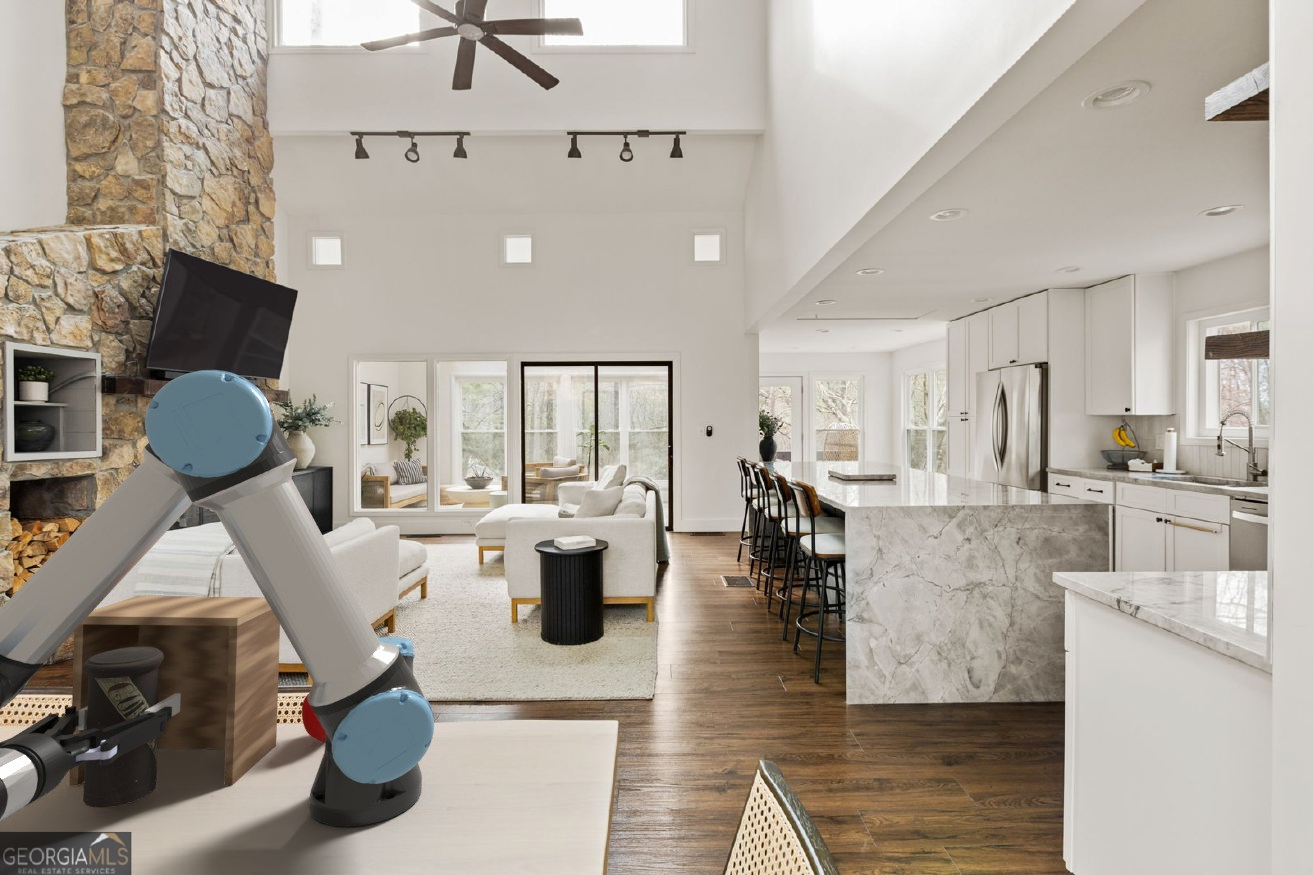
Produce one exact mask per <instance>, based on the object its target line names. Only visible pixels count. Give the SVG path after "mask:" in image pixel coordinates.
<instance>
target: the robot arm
mask: <svg viewBox="0 0 1313 875" xmlns="http://www.w3.org/2000/svg"><path fill="white" fill-rule="evenodd" d="M144 419H145V420H144V426H145V427H144V428H145V434H146V437H147V438H146V439H147V441H148V443H147V444H146V445H145V446H144V447H143V448H142V451H143V452H142V453H143V461H142V462H141V463H140V464H139V465H138V466H137V467H136V468H135V470H133V472H131V474H129V475H128V477H126V479H124V480H123V482H121V484H120V485H119V486H118V487H117V488H116V489H115V490H114V491H113V492H112V493H111V494H110V495H109V496H108V497H107V498H106V499H105V500H104V502H102V503H101V505H100V506H99V507H97V509H95V511H93V512H92V514H90V516H89V517H88V518H87V519H86V520H85V521H84V522H83V523H82V524H81V525H80V526H78V528H76V530H75V531H74V532H73V534H72V535H70V536H69V538H67V540H66V541H65V542H63V544H62V545H61V546H59V548H58V549H57V550H56V551H55V552H54V553H53V554H52V555H51V556H50V557H49V558H48V559H47V560H46V561H45V562H44V563H43V565H42V566H40V567H39V569H38V570H37V571H36V572H35V573H33V575H31V576H30V578H28V580H27V581H26V582H25V583H24V584H23V585H22V586H21V587H20V588H19V589H18V590H17V591H16V592H15V593H14V594H13V595H12V596H11V597H10V598H9V599H8V600H7V601H6V603H4V605H2V606H1V607H0V710H1V709H3V708H4V707H5V706H7V705H8V704H9V703H11V702H12V701H13V700H14V699H15V698H16V697H17V696H18V695H19V694H20V693H21V692H22V691H23V690H24V689H25V687H26V686H27V684H28V682H29V681H30V680H31V678H32V677H34V676H35V674H36V673H37V672H38V671H39V670H40V669H42V667H43V666H44V664H45V663H46V662H47V661H48V660H49V658H50V657H52V655H53V654H55V652H56V651H57V650H58V649H59V648H60V647H61V646H62V644H64V642H65V641H66V640H67V639H68V638H69V637H70V636H71V635H72V634H74V631H75V629H76V628H77V627H78V626H79V625H80V624H81V623H82V622H83V621H84V620H85V619H86V618H87V617H88V615H89V614H90V613H91V612H92V611H93V610H95V609H96V608H97V607H98V606H99V605H100V604H101V603H102V601H103V600H105V599H106V597H108V595H109V594H110V593H111V592H112V591H113V590H114V588H116V586H117V585H118V584H119V583H121V581H122V580H124V578H125V577H126V576H127V574H129V573H130V571H132V569H134V567H135V566H136V565H137V564H138V563H139V562H140V561H141V560H142V558H144V556H145V555H146V554H147V553H148V552H150V550H151V549H152V548H153V547H154V546H155V544H156V543H158V541H159V540H160V539H161V538H162V537H163V536H164V535H165V534H166V533H167V532H168V531H169V530H170V528H171V527H172V526H173V525H174V524H175V523H176V522H177V521H178V520H179V518H181V516H183V515H184V513H186V511H187V510H188V509H189V508H190V507H191V506H192V505H194V506H195V507H196V506H197V507H200V508H204V509H209V510H211V511H213V512H215V513H216V515H217V517H218V519H219V520H220V522H221V524H222V526H223V527H224V529H225V531H226V532H227V534H228V536H229V538H230V540H231V542H232V543H233V545H234V546H235V548H236V550H237V551H238V553H239V555H240V558H242V561H243V562H244V564H245V565H246V568H247V569H248V571H249V572H250V574H251V576H252V578H253V580H254V582H255V583H256V584H257V586H258V588H259V589H260V590H259V591H261V593H262V595H263V597H264V598H265V599H266V600H267V602H268V604H269V606H270V607H271V609H272V611H273V613H274V614H275V616H276V618H277V620H278V621H279V623H280V628H282V630H283V632H284V633H285V635H286V637H287V638H288V640H289V642H290V644H291V646H292V648H293V649H294V650H295V653H296V655H297V656H298V658H299V660H300V661H301V663H302V664H303V666H304V668H305V670H306V672H307V674H308V676H309V677H310V679H311V681H312V685H311V687H310V690H309V693H308V694H309V695H308V694H307V695H308V698H307V699H308V702H309V704H310V706H311V708H312V709H313V711H314V713H315V715H316V717H317V718H318V720H319V722H320V724H321V725H322V727H323V729H324V731H325V732H326V733H325V741H324V754H323V755H322V758H321V761H320V764H319V767H318V769H317V773H316V775H315V778H314V779H313V780H314V781H313V782H312V785H311V789H310V792H309V793H310V794H309V814H310V815H311V816H312V818H313V819H314V820H316V821H318V822H319V823H322V824H325V825H329V826H335V827H359V826H360V827H361V826H368V825H372V824H376V823H380V822H383V821H386V820H388V819H389V820H390V819H392V818H394V817H396V816H398V815H400V814H402V813H403V812H406V811H407V810H408V809H410V808H411V807H412V806H413V805H414V804H416V803H417V802H418V800H419V799H420V797H421V795H422V791H423V790H422V788H423V787H422V786H423V784H422V783H423V775H422V770H421V767H420V764H419V762H421V760H422V759H423V758H424V756H425V755H426V753H427V751H428V750H429V747H430V746H431V743H432V740H433V739H434V738H433V737H434V732H435V722H434V720H435V719H434V716H435V714H434V710H433V708H432V706H431V703H430V702H429V700H428V699H427V698H426V697H425V695H424V693H423V690H422V689H421V686H420V684H419V683H418V681H417V678H416V677H415V675H414V658H415V656H416V655H415V652H414V644H413V642H412V641H411V639H408V638H406V637H398V636H397V637H396V636H394V637H393V636H391V637H385V636H384V637H378V635H377V634H376V631H375V630H374V627H373V626H372V624H371V622H370V621H369V619H368V617H367V615H366V613H365V612H364V610H363V608H362V605H361V604H360V602H359V600H358V599H357V597H356V595H355V593H354V591H353V589H352V587H351V586H350V584H349V582H348V580H347V579H346V578H347V577H346V576H345V575H344V573H343V571H342V569H341V567H340V565H339V563H338V561H337V560H336V558H335V556H334V554H333V552H332V551H331V549H330V547H329V545H328V543H327V542H326V539H325V537H324V536H323V534H322V532H321V531H320V529H319V526H318V525H317V523H316V521H315V519H314V517H313V515H312V514H311V512H310V510H309V508H308V506H307V505H306V503H305V501H304V499H303V497H302V496H301V493H300V492H299V489H298V488H297V486H296V484H295V482H294V480H293V479H292V477H293V476H292V475H293V471H294V469H295V466H296V465H297V464H296V463H297V461H298V459H297V457H296V455H295V453H294V451H293V449H292V447H291V445H290V444H289V442H288V440H287V438H286V436H285V435H284V432H283V431H282V429H281V427H280V425H279V423H278V421H277V419H276V418H275V416H274V414H273V411H272V408H271V406H270V404H269V402H268V400H267V397H266V396H265V395H264V393H263V392H262V390H260V389H259V388H258V387H257V386H256V385H255V384H253V383H252V381H250V380H248V379H247V378H245V377H243V376H241V375H238V374H236V373H233V372H230V371H225V370H220V369H219V370H217V369H205V370H204V369H202V370H201V369H200V370H197V371H193V372H188V373H185V374H182V375H180V376H178V377H175V378H174V379H172V380H170V381H168V382H167V383H166V384H165V385H163V386H162V387H161V388H160V389H159V390H158V391H157V392H156V394H155V395H154V396H153V397H152V399H151V401H150V402H149V404H148V407H147V408H146V413H145V418H144ZM180 698H181V693H175V694H173V695H172V696H170V697H168V698H166V699H165V700H163V701H161V702H159V703H157V704H156V705H154V706H152V707H150V708H149V709H147V710H145V711H144V715H141V716H138V717H135V718H133V719H130V720H127V721H124V722H121V723H118V724H115V725H112V726H109V727H107V728H104V729H101V730H99V729H96V728H93V729H90V730H87V731H84V732H81V733H78V734H75V735H74V734H73V733H74V732H75V730H76V727H77V726H78V730H85V729H87V707H88V706H87V707H85V708H83V709H81V710H79V711H77V712H76V706H72V705H71V706H68V707H65V708H64V714H63V716H60V715H59V713H51V714H48V715H46V716H45V717H43V718H42V719H39V720H38V721H36V722H35V723H33V724H31V725H30V726H28V727H27V728H26V729H24V730H22V731H20V732H19V733H17V734H15V735H14V736H12V737H10V738H7V739H5V740H3V741H1V742H0V822H2V821H4V820H5V819H7V818H9V817H11V816H12V815H13V814H15V813H17V812H20V811H21V810H22V809H23V808H25V807H27V806H29V805H30V804H33V803H35V801H38V800H39V799H41V798H42V797H44V796H45V795H47V794H49V793H50V792H52V791H53V790H54V789H56V788H57V787H58V786H59V785H60V783H61V782H62V781H63V779H64V778H65V776H66V775H67V774H68V772H70V769H72V768H75V767H78V766H80V765H83V764H84V763H86V762H87V761H88V760H96V759H100V765H101V766H104V765H109V764H111V763H112V762H113V761H115V760H116V759H117V758H118V757H120V756H122V755H124V754H125V753H127V752H129V751H131V750H133V749H135V748H137V747H139V746H141V745H143V744H145V743H147V742H149V741H151V740H153V739H155V738H157V737H159V736H161V735H163V734H165V733H166V721H167V720H168V719H170V718H171V717H172V716H174V715H175V714H177V713H179V712H180ZM89 737H90V740H89ZM89 748H90V749H89Z"/></svg>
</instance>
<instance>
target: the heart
mask: <svg viewBox="0 0 1313 875" xmlns="http://www.w3.org/2000/svg"><path fill="white" fill-rule="evenodd" d="M308 695H309V693H308V694H307V695H306V696H305V697H304V699H303V702H302V704H301V705H302V706H301V718H302V724H303V727H304V730H305V732H306V733H307V734H308V735H309V736H310V737H311V738H313V739H314V740H317V741H320V742H325V733H326V732H325V731H324V729H323V727H322V725H321V724H320V722H319V720H318V718H317V717H316V715H315V713H314V711H313V709H312V708H311V706H310V704H309V702H308V699H307V698H308Z"/></svg>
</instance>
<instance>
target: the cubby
mask: <svg viewBox="0 0 1313 875" xmlns="http://www.w3.org/2000/svg"><path fill="white" fill-rule="evenodd" d="M280 632H281V625H280V623H279V621H278V620H277V618H276V616H275V614H274V613H273V611H272V609H271V607H270V606H269V604H268V602H267V600H266V599H265V597H264V596H263V597H261V596H260V597H256V596H253V597H251V596H249V597H247V596H245V597H244V596H182V595H181V596H176V595H175V596H174V595H173V596H172V595H170V596H169V595H168V596H167V595H165V596H164V595H136V596H133V597H130V598H127V599H123V600H121V601H118V602H114V603H111V604H108V605H105V606H102V607H100V608H99V607H98V608H97V609H96V608H95V609H94V610H93V611H92V612H91V613H90V614H89V615H88V617H87V618H86V619H85V620H84V621H83V622H82V623H81V624H80V625H79V626H78V627H77V628H76V629H75V631H74V632H73V634H74V638H73V665H72V691H71V692H72V697H71V706H76V712H77V711H79V710H81V709H83V708H85V707H87V706H88V675H87V674H86V673H85V672H84V669H83V666H84V663H85V662H86V661H87V660H88V659H90V658H91V657H92V656H94V655H97V654H100V653H103V652H107V651H111V650H116V649H121V648H128V647H153V648H157V649H158V650H160V651H161V652H162V653H163V655H164V659H163V661H162V662H161V664H160V665H159V666H158V702H157V703H159V702H161V701H163V700H165V699H166V698H168V697H170V696H172V695H173V694H175V693H181V698H180V712H179V713H177V714H175V715H174V716H172V717H171V718H170V719H168V720H167V721H166V733H165V734H163V735H161V736H159V737H157V750H224V753H225V754H224V772H223V776H224V778H223V780H224V781H223V785H224V786H233V785H235V783H236V782H238V781H239V780H240V779H241V778H242V777H244V775H246V774H247V773H248V772H249V771H250V770H251V769H252V768H253V767H254V766H256V765H257V764H258V763H259V762H260V761H261V760H262V759H264V758H265V756H266V755H267V754H269V752H271V751H273V749H275V747H277V731H278V728H277V727H278V701H279V700H278V699H279V698H278V696H279V694H278V693H279V671H280V670H279V667H280V665H279V664H280V636H281V635H280V634H281V633H280ZM86 730H87V729H85V730H78V726H77V727H76V730H75V732H74V733H73V734H74V735H75V734H78V733H81V732H84V731H86ZM84 771H85V763H84V764H83V765H80V766H78V767H75V768H72V769H70V770H69V783H68V784H69V786H70V787H71V786H72V787H74V786H75V787H76V786H77V787H78V786H80V785H81V784H84Z"/></svg>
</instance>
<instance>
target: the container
mask: <svg viewBox="0 0 1313 875" xmlns="http://www.w3.org/2000/svg"><path fill="white" fill-rule="evenodd" d="M163 659H164V655H163V653H162V652H161V651H160V650H158V649H157V648H153V647H128V648H121V649H116V650H111V651H107V652H103V653H100V654H97V655H94V656H92V657H91V658H90V659H88V660H87V661H86V662H85V663H84V666H83V669H84V672H85V673H86V674H87V675H88V707H87V730H90V729H93V728H96V729H99V730H101V729H104V728H107V727H109V726H112V725H115V724H118V723H121V722H124V721H127V720H130V719H133V718H135V717H138V716H141V715H144V711H145V710H147V709H149V708H150V707H152V706H154V705H156V704H157V702H158V666H159V665H160V664H161V662H162V661H163ZM87 730H86V731H87ZM89 740H90V737H89ZM89 749H90V748H89ZM157 776H158V749H157V738H155V739H153V740H151V741H149V742H147V743H145V744H143V745H141V746H139V747H137V748H135V749H133V750H131V751H129V752H127V753H125V754H124V755H122V756H120V757H118V758H117V759H116V760H115V761H113V762H112V763H111V764H109V765H104V766H101V765H100V759H96V760H88V761H87V762H86V763H85V771H84V782H83V790H82V792H83V795H82V799H83V800H82V801H83V803H84V805H86V806H88V807H91V808H95V809H96V808H97V809H106V808H108V809H109V808H114V807H120V806H125V805H127V804H131V803H134V802H137V801H139V800H141V799H143V798H146V797H147V796H149V795H150V794H152V792H154V791H155V789H156V788H157V779H158V777H157Z"/></svg>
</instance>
